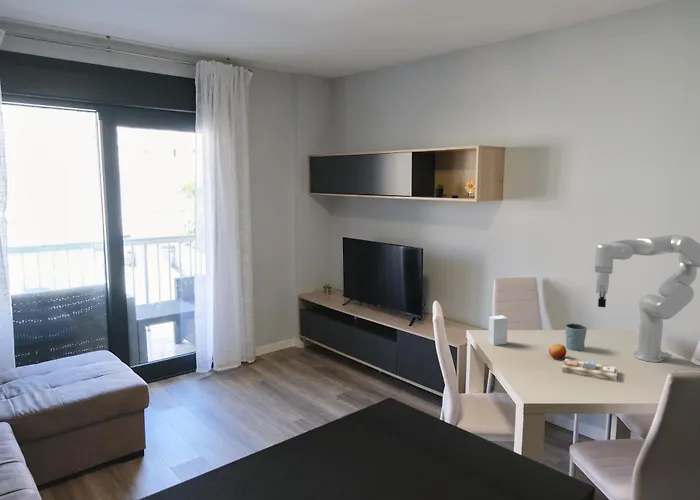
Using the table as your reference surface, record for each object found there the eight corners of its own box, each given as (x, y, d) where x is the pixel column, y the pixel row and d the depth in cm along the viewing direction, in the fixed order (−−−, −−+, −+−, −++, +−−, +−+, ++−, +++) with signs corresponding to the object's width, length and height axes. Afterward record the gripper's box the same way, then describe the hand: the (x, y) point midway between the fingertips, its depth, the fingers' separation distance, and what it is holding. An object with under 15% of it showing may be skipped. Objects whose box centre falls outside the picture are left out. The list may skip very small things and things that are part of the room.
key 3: (577, 366, 228) (578, 361, 227) (576, 370, 224) (576, 364, 224) (567, 365, 230) (567, 359, 230) (565, 368, 226) (566, 362, 226)
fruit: (571, 358, 237) (563, 344, 236) (556, 365, 238) (548, 351, 238) (568, 352, 244) (560, 339, 244) (553, 359, 246) (545, 346, 246)
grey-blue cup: (581, 345, 259) (582, 323, 258) (588, 352, 250) (590, 329, 248) (561, 344, 260) (562, 323, 259) (568, 351, 250) (569, 328, 249)
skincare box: (501, 341, 267) (502, 314, 265) (507, 344, 261) (508, 317, 259) (487, 342, 265) (488, 315, 263) (493, 345, 260) (494, 318, 258)
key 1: (614, 373, 220) (614, 367, 220) (613, 376, 216) (614, 371, 216) (602, 371, 223) (603, 365, 222) (602, 374, 219) (602, 369, 218)
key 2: (595, 366, 224) (596, 361, 223) (595, 370, 220) (595, 364, 220) (584, 364, 226) (585, 359, 226) (583, 368, 222) (584, 362, 222)
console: (617, 372, 223) (617, 367, 223) (616, 381, 213) (616, 376, 212) (565, 363, 234) (565, 358, 234) (561, 371, 224) (562, 366, 223)
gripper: (595, 266, 242) (593, 302, 245) (594, 271, 229) (592, 309, 232) (612, 267, 239) (610, 304, 241) (612, 272, 226) (610, 311, 228)
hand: (601, 306), depth 237 cm, fingers closed
